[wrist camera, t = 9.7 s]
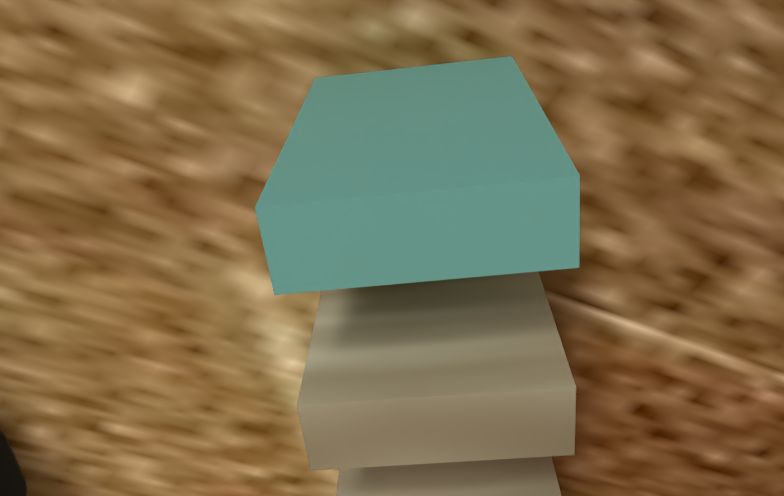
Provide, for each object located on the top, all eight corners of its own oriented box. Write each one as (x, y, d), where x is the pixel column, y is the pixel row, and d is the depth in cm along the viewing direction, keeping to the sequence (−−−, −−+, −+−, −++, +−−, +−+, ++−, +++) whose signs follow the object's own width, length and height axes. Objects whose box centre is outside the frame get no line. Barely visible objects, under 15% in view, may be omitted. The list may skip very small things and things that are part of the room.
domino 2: (354, 335, 22) (328, 556, 15) (518, 323, 21) (573, 543, 14) (361, 376, 23) (339, 606, 15) (519, 366, 22) (571, 596, 15)
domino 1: (337, 217, 20) (297, 405, 13) (516, 202, 20) (576, 386, 13) (344, 267, 21) (310, 470, 14) (516, 253, 20) (574, 454, 13)
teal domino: (514, 117, 19) (578, 267, 11) (325, 137, 19) (274, 294, 12) (512, 56, 18) (579, 175, 11) (315, 78, 18) (254, 207, 11)
